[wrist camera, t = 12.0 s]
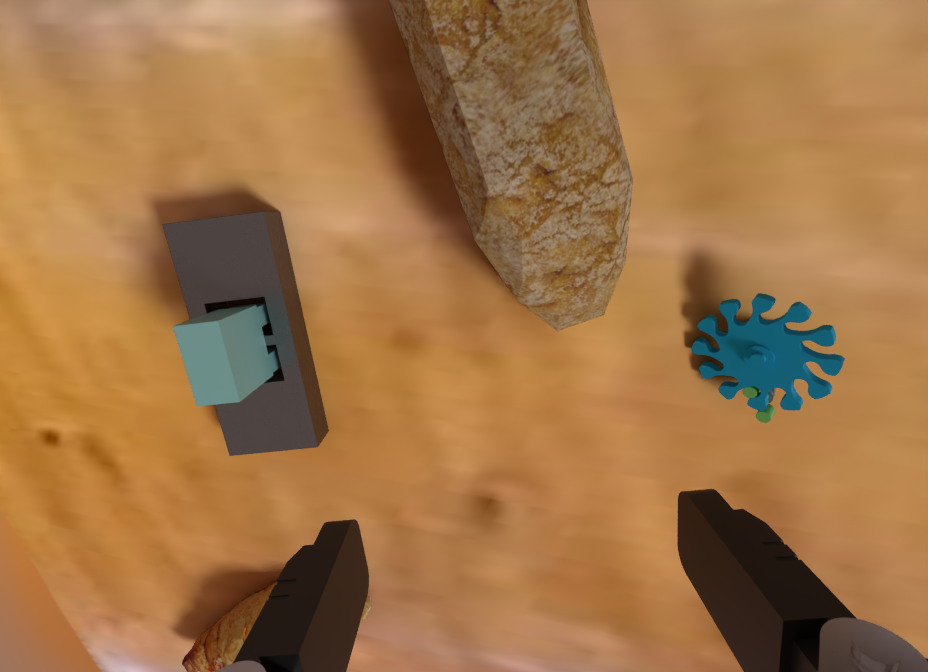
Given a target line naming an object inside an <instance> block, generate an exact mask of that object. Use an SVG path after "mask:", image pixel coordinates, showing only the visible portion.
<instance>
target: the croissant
mask: <svg viewBox="0 0 928 672" xmlns="http://www.w3.org/2000/svg"><path fill="white" fill-rule="evenodd" d="M276 584H277V582H275V583H274V584H272V585H271V586H269V587H268V588H266V589H264V590H262V591H260V592H259V593H255V594H253V595H251V596H249V597H248V598H246V599H245V600H243V601H242V602H240V603H239V604H238V605H237V606H235V607H234V608H233V609H232V610H231V611H230V612H229V613H227V614H226V615H224V616H223V617H222V618H221V619H220V620H219V621H217V622H216V623H215V625H214V626H213V627H211V628H209V629H208V630H207V631H205V632H204V633H202V634H201V636H200V637H199V638H198V639H197V640H196V641H195V643H194V645H193V647H192V649H191V650H190V651H189V653H188V654H187V655H186V656H185V657H184V659H183V662H182V665H183V666H184V667H185V669H186V670H187V672H197V671H200V672H217V671H218V670H220V669H222V668H223V667H225V666H227V665H230V664H232V663H233V662H234V660H235V658H236V656H237V654H238V653H239V651H240V649H241V647H242V645H243V643H244V641H245V640H246V638H247V636H248V634H249V632H250V630H251V628H252V627H253V625H254V623H255V621H256V619H257V617H258V615H259V614H260V612H261V610H262V608H263V606H264V604H265V602H266V601H267V600H269V595H270V593H271V591H272V589H273V588H274V586H275V585H276ZM370 600H371V598H370V597H369V596H367V599H366V602H365V606H364V610H363V613H362V617H361V620H363V619H365V617H366V615H367V614H368V612H369V610H370V609H371V606H372V605H371V601H370ZM361 620H360V621H361Z"/></svg>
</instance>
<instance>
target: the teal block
mask: <svg viewBox="0 0 928 672" xmlns="http://www.w3.org/2000/svg"><path fill="white" fill-rule="evenodd" d="M268 323H270V318H269V314H268V310H267V305H266V302H264V303H256V304H247V305H238V306H233V307H230V308H228V309H219V310H215V311H213V312H210V313H207V314H205V315H202V316H199V317H196V318H194V319H191V320H188V321H186V322H183V323H180V324H177V325H175V326H173V328H174V332H175V335H176V338H177V342H178V345H179V348H180V352H181V355H182V358H183V362H184V365H185V368H186V372H187V375H188V378H189V382H190V385H191V388H192V392H193V395H194V398H195V401H196V405H197V406H206V405H216V404H225V403H235V402H240V401H242V400H243V399H244V398H245V397H247V396H248V395H249V394H250V393H252V392H253V391H254V390H256V389H257V388H258V387H259V386H261V385H262V384H263V383H264V382H266V381H267V380H268V379H269V378H271V377H272V376H273V372H275V371H276V370H277V369H279V368H280V367H281V363H280V359H279V355H278V351H277V347H269V348H267V347H266V343H265V339H264V335H263V331H262V326H264V325H266V324H268Z"/></svg>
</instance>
